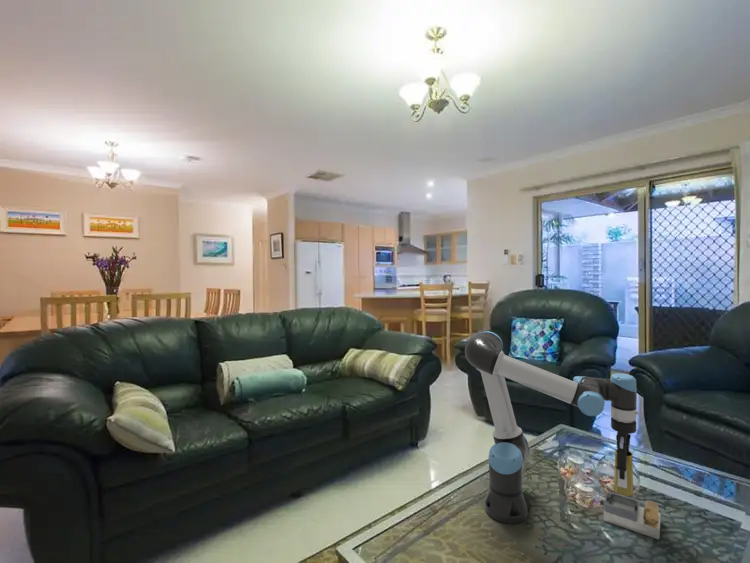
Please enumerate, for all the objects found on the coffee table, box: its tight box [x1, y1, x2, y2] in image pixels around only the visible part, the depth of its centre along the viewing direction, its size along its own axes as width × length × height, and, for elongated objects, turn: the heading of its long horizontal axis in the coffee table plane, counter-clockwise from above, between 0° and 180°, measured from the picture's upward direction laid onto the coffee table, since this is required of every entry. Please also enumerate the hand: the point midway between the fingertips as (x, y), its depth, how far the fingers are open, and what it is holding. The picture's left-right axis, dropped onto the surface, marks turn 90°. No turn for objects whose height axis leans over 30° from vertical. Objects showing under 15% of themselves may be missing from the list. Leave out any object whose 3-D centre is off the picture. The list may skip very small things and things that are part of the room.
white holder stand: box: [603, 490, 662, 540], centre depth 138 cm, size 16×10×8 cm, turn 52°
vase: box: [613, 449, 635, 497], centre depth 139 cm, size 6×6×14 cm
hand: (623, 482), depth 139 cm, fingers closed on vase, 6 cm apart
